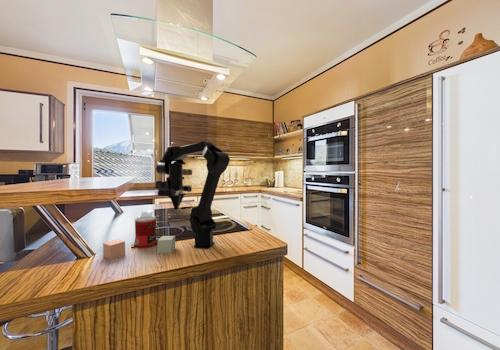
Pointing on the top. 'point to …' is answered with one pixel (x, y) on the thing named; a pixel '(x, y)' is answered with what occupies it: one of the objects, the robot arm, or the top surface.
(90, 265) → the top surface
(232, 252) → the top surface
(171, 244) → the sage block
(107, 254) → the terracotta block
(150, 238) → the canned food
